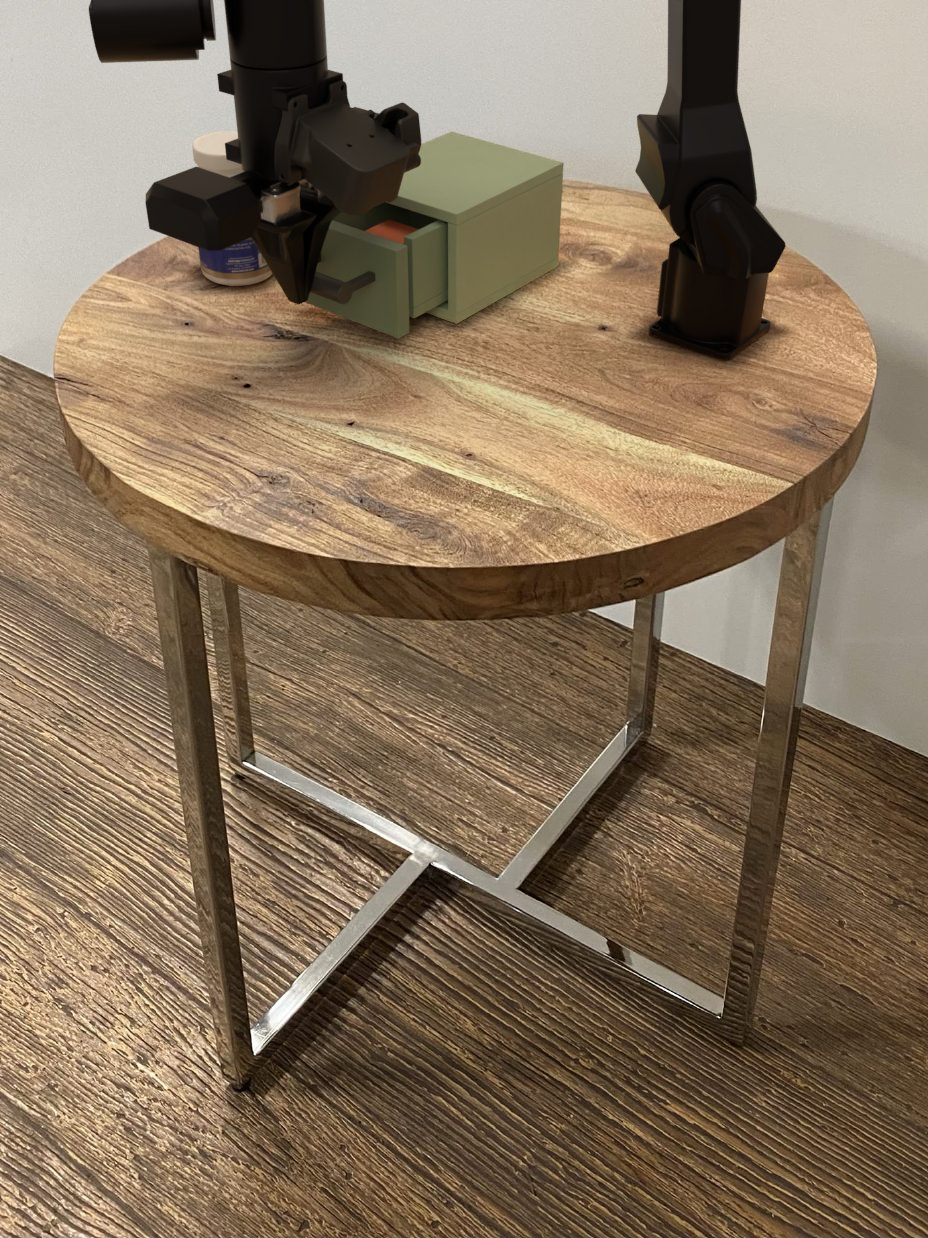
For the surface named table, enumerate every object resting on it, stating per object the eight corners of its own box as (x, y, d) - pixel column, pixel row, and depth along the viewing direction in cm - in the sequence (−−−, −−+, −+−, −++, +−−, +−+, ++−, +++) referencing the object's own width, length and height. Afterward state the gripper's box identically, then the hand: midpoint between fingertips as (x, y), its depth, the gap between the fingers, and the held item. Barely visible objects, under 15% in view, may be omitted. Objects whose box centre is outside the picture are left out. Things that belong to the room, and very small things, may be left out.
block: (428, 279, 94) (427, 231, 92) (395, 296, 92) (394, 247, 90) (390, 266, 96) (389, 218, 94) (357, 282, 94) (355, 234, 92)
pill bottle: (193, 263, 101) (176, 133, 95) (264, 252, 103) (252, 123, 96) (212, 293, 97) (196, 159, 91) (286, 281, 99) (275, 148, 92)
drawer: (360, 359, 87) (356, 270, 83) (260, 319, 92) (252, 233, 88) (499, 282, 97) (501, 199, 93) (403, 249, 101) (401, 168, 97)
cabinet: (456, 324, 93) (456, 214, 88) (346, 283, 98) (341, 177, 93) (558, 266, 101) (563, 162, 96) (451, 231, 106) (451, 131, 101)
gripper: (263, 126, 68) (287, 393, 77) (483, 46, 79) (479, 287, 89) (121, 83, 73) (160, 338, 83) (346, 14, 84) (357, 245, 94)
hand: (298, 301), depth 87 cm, fingers closed
